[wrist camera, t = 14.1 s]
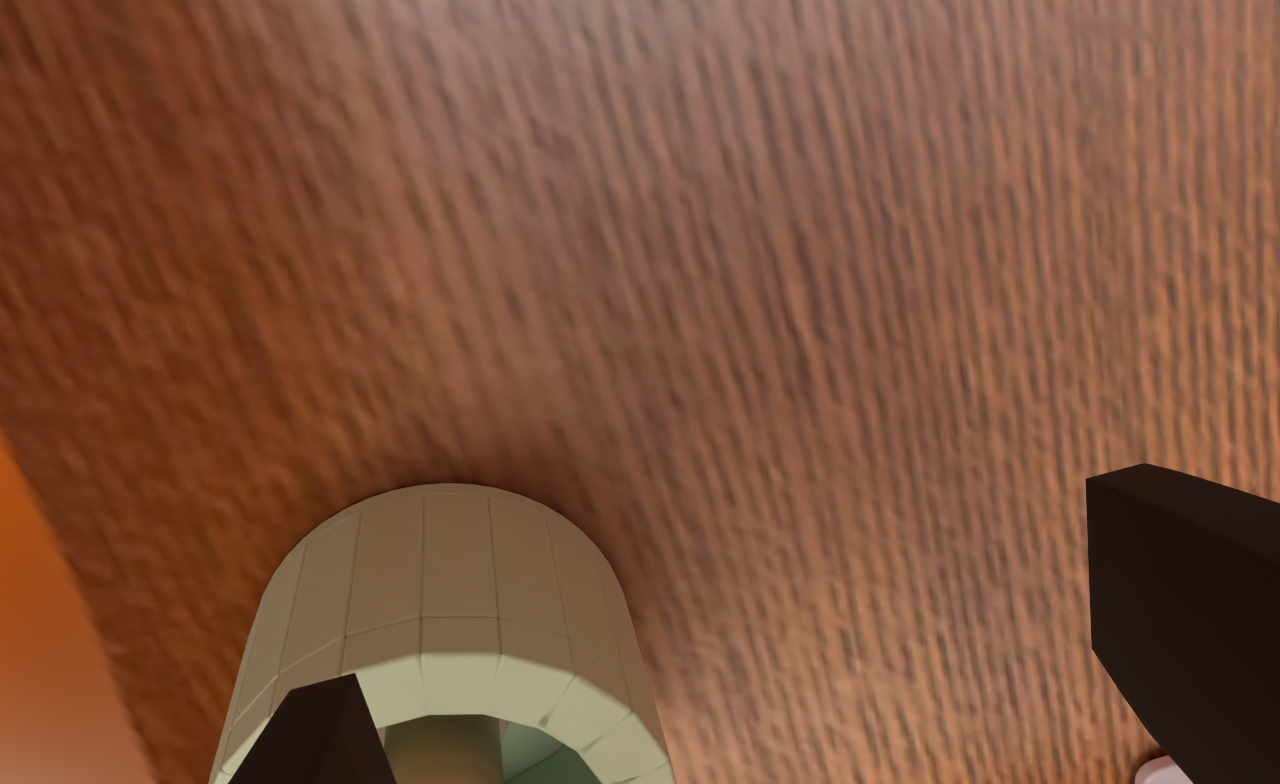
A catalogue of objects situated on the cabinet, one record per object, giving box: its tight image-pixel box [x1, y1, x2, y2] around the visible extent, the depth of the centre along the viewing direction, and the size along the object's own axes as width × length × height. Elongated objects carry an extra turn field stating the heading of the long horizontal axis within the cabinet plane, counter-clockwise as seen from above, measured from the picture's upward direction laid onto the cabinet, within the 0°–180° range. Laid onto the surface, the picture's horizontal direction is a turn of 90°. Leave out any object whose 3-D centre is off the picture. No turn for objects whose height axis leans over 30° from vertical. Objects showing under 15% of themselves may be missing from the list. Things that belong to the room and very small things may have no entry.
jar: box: [208, 483, 676, 784], centre depth 20 cm, size 7×7×6 cm
